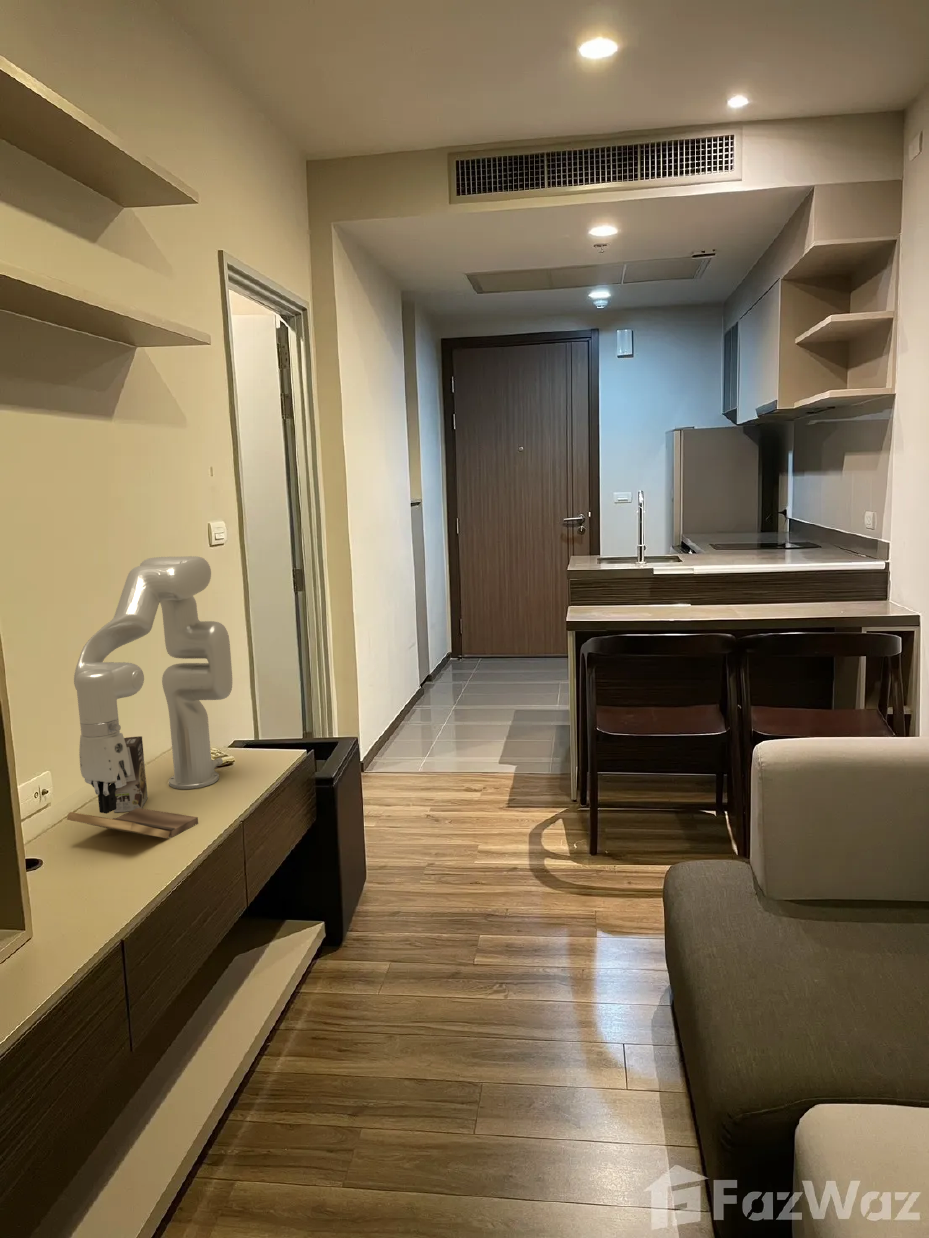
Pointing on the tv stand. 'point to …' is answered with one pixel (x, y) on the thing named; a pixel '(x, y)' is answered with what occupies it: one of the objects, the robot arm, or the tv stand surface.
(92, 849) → the tv stand surface
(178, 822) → the walnut board
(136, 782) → the coffee box
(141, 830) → the oak plank
